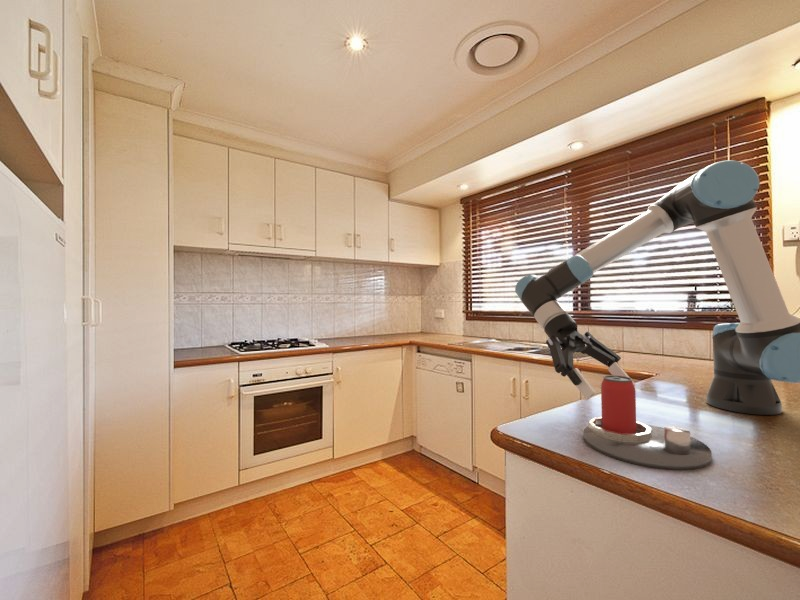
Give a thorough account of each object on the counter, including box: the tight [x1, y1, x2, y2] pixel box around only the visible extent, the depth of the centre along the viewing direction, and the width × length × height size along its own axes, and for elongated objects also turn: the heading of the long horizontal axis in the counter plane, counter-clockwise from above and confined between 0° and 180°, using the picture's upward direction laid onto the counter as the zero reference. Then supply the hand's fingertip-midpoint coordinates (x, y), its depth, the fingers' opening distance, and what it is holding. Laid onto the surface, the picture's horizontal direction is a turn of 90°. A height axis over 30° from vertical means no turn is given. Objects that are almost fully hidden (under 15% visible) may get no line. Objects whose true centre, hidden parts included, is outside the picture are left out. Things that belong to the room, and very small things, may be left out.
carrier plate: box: [583, 416, 713, 471], centre depth 76 cm, size 22×22×5 cm
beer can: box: [600, 374, 637, 434], centre depth 81 cm, size 7×7×12 cm
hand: (612, 392), depth 81 cm, fingers open, 13 cm apart
